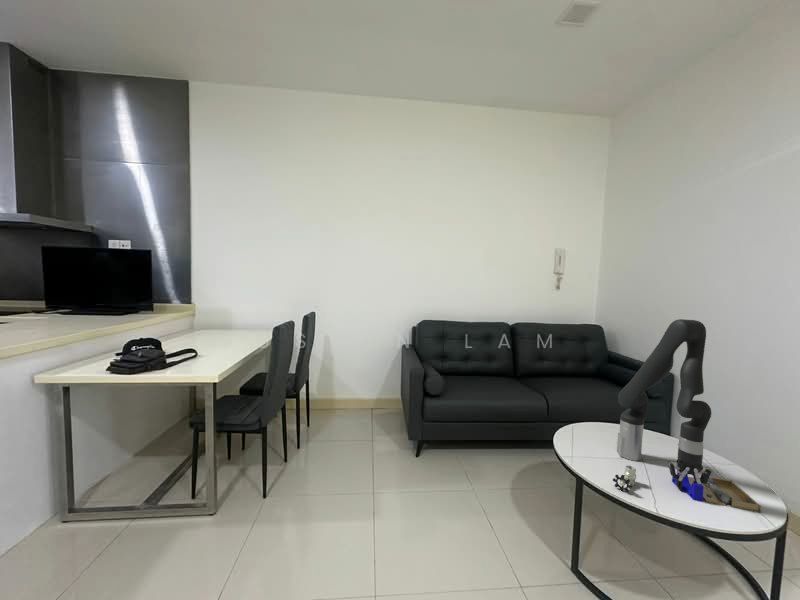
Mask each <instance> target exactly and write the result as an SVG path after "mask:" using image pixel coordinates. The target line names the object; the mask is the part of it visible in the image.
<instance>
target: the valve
mask: <svg viewBox="0 0 800 600" xmlns="http://www.w3.org/2000/svg"><path fill="white" fill-rule="evenodd" d="M623 473H624V474H621V475H620V476H619V474H615V475H614V477H613V478H612V481H613V482H615V484H614V488H619V491H620V490H621V491H623V492H624V490H625V492H626V493H629V492H630V490H631V489H632V488H633V486H635V485H636V479H637V474H636V473H637V468H636V467H634V466H633V465H625V468H624V472H623ZM618 481H619V482H618ZM629 484H632V485H629ZM625 485H626V487H625ZM621 491H620V492H621Z"/></svg>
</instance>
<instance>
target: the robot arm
mask: <svg viewBox="0 0 800 600" xmlns="http://www.w3.org/2000/svg"><path fill="white" fill-rule="evenodd" d="M666 328H667V329H666V331H665V332H664V334H663V335H662V337H661V339H660V341H659V342H658V343H657V345H656V346H655V348H654V349H653V350H652V352H651V354H650V355H649V356H648V357H647V358H646V359H645V361H644V362H643V363H642V365H641V366H640V367H639V369H638V371H637V372H636V373H635V375H633V377H632V378H631V380H630V381H628V383H626V385H625V386H624V387H623V388H622V389H621V390H620V391H619V392H618V395H617V400H618V404H619V405H620V407H623V408H625V410H624V411H623V412H621V414H620V420H619V422H620V423H619V432H618V433H617V441H616V452H617V454H618V455H619V457H620V458H624V459H627V460H630V461H638V462H639V461H641V459H642V451H643V450H642V449H643V448H642V447H643V438H644V437H643V435H644V426H645V425H644V423H645V420H646V418H647V416H648V414H647V413H648V408H649V397H648V394H647V393H646V391H647V390H648V389H650V388H652V387H653V386H655V385H657V384H658V383H660V382H662V381H663V380H664V379H665V378H666V377H667V376H668V374H669V373H670V372H671V371H672V369H673V367H674V355H675V353H676V351H677V350H678V349H679V347H680V346H681V345H682V344H683V343H685V342H686V355H685V358H684V361H683V363H682V365H681V367H680V370H679V381H680V382H679V383H680V390H679V393H678V398H677V400H676V401H677V402H676V406H675V407H676V410H677V413H678V414H679V415H680V416H681V417H683V419H684V418H685V419H691V420H688V421H684V422H682V423H681V425H680V431H679V432H680V433H679V438H678V444H677V460H676V461H674V462H673V461H670V460H669V461H667V464H668V465H667V466H668V469H669V473H670V475H671V478H672V477H673V478H675V479H676V485H675V486H676V488H678V490H679V491H683V490H682V479H683V477H685V476H686V474H688V475H691V476H692V477H693V478H694V480H695V481H693V483H696V484H702V483H704V484H706V483H707V481H708V479H709V477H711V475H712V470H711V469H709V467H706V466H705V467H704V466H703V458H704V436H705V435H704V433H705V430H706V428H707V426H708V423H709V421H710V419H711V418H712V408H711V406H710V405H709V404H708V403H707V402H705V401H703V400H694V397H695V396H699V395H703V393H704V391H705V389H704V377H703V365H704V364H703V363H704V355H705V347H706V340H707V330H706V329H707V328H706V326H705V325H704V324H703V322H701V321H699V320H696V319H675V320H673V321H672V322H671V323H670V324H669V326H668V327H666ZM677 467H678V472H677V471H676V469H677ZM700 472H702V473H701V475H700V474H699V473H700Z"/></svg>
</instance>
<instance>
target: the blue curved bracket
mask: <svg viewBox="0 0 800 600" xmlns="http://www.w3.org/2000/svg"><path fill="white" fill-rule="evenodd" d="M678 469H679V467H678V468H677V467H676V473H677V472H678ZM688 475H689V474H686V476H685V477H683V479H682V490H681V491H683V492H685V493H686V494H687V495H688V496H689V497H690V499H692V500H693V501H698V502H703V500H704V499H703V488H704V486H703V485H702V484H696V483H692V486H691V485H690V482H689V479H688V477H689V476H688ZM671 482H672V484H674V485H675V486H676V479H675V478H673V477H672V476H671Z"/></svg>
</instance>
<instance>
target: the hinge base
mask: <svg viewBox="0 0 800 600" xmlns="http://www.w3.org/2000/svg"><path fill="white" fill-rule="evenodd" d="M688 479H689V482H690V485H691V486H692V483H693V481H695V480H694V477H693V476H688ZM702 485H703V486H704V488H703V500H704V502H705V503H710V504H714V505H715V504H716V505H719V506H720V505H721V506H726V505H727V506H730V507H731V508H736V509H740V510H745V511H751V512H755V513H761V509H762V506H761V505H760V504H759V503H758V502H757V501H756V500H754V499H753V498H752V497H751V495H749V494H748V493H747V492H746V491H744V490H743V489H742V488H741V487H740V486H738V484H737V483H735V482H734V481H733V480H730V479H726V478H720V477H712V476H710V477H709V479H708V481H707V483H706V484H704V483H702Z"/></svg>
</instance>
